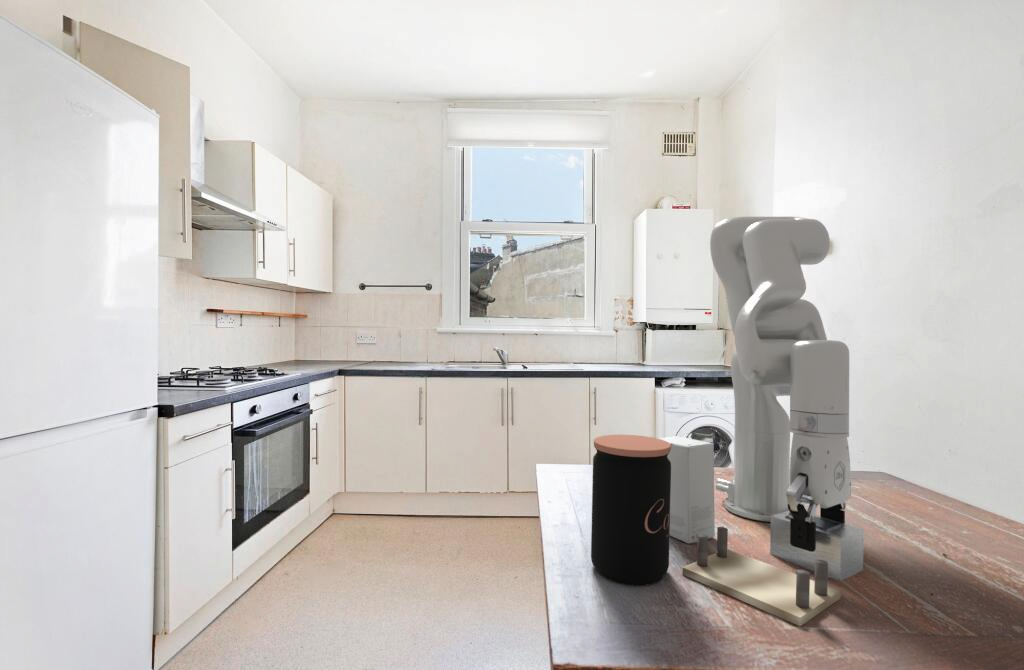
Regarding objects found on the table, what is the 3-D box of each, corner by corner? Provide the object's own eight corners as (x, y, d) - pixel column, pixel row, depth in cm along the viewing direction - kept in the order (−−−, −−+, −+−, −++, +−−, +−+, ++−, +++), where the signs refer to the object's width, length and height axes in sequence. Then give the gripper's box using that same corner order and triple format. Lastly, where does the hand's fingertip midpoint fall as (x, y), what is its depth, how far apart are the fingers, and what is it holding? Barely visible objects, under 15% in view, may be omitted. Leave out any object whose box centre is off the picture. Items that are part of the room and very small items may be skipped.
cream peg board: (682, 574, 72) (683, 538, 72) (726, 555, 79) (726, 522, 79) (800, 626, 60) (801, 582, 60) (840, 598, 66) (841, 559, 66)
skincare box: (715, 538, 85) (717, 443, 85) (686, 546, 82) (689, 447, 82) (676, 521, 93) (678, 434, 92) (648, 528, 89) (650, 437, 89)
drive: (770, 555, 80) (770, 514, 80) (793, 546, 83) (794, 507, 83) (840, 582, 71) (841, 536, 71) (862, 571, 75) (863, 528, 75)
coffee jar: (655, 596, 66) (658, 454, 66) (578, 574, 72) (581, 443, 71) (677, 565, 75) (680, 440, 75) (607, 548, 81) (609, 431, 81)
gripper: (820, 431, 69) (819, 563, 68) (870, 423, 79) (870, 537, 79) (763, 424, 75) (762, 545, 74) (817, 417, 85) (816, 523, 84)
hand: (818, 541), depth 76 cm, fingers open, 9 cm apart
